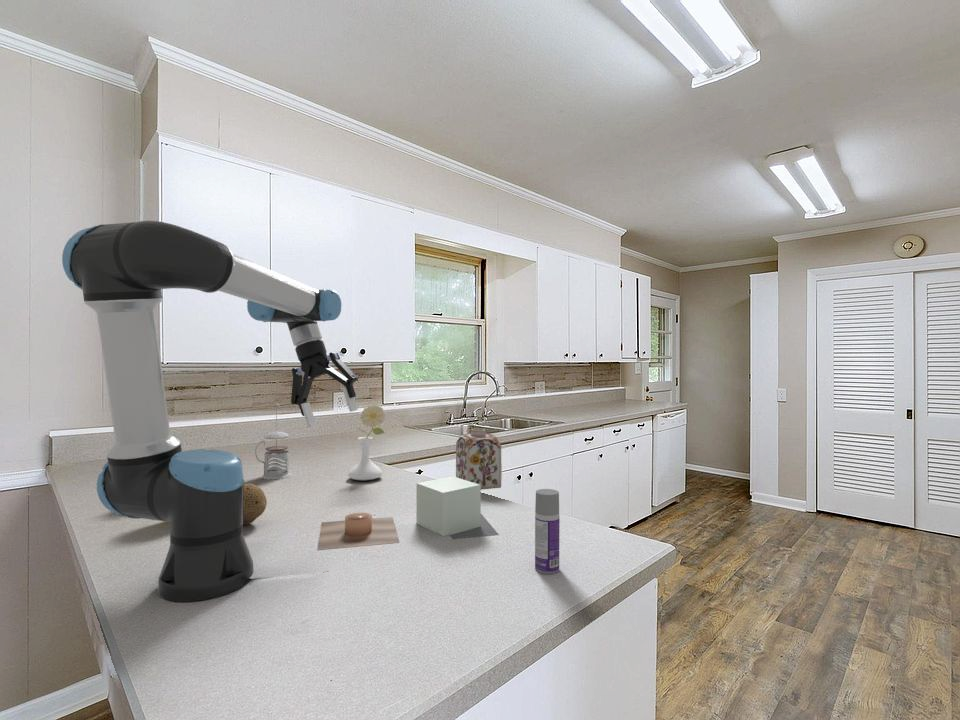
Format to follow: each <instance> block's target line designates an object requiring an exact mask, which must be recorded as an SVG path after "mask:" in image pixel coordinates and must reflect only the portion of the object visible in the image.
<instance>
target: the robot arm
mask: <svg viewBox="0 0 960 720" xmlns="http://www.w3.org/2000/svg"><path fill="white" fill-rule="evenodd" d="M61 254H62V255H61V256H62V257H61V261H62V262H61V263H62V269H63V271H64V273H65V275H66V276H67V278H68V280H69V281H72V282H73V283H74V285H75V286H76V287H77V288H78V289H80V290H81V291H82V295H83V302H84V304H85V305H86V306H87V307H89V308H90V309H93V311H95V313H96V316H97V325H98V332H99V336H100V344H101V351H102V357H103V358H102V359H103V364H104V372H105V379H106V385H107V387H106V388H107V394H108V400H109V407H110V413H111V414H110V415H111V420H112V427H113V435H114V442H115V443H114V445H113V446H112V447H111V448H110V449H109V450H108V451H107V453H106V457H107V462H106V463H105V464H104V465H103V467H102V472H100V473H99V474H98V477H97V480H96V492H97V493H96V494H97V496H98V499H99V501H100V502H101V504H102V505H103V507H105V509H107V510H109V512H111V513H113V514H116V515H120V516H122V517H126V518H129V519H144V520H150V521H151V520H152V521H159V522H169V536H170V537H169V538H170V539H169V541H170V542H169V547H168V551H167V554H166V557H165V559H164V562H163V565H162V568H161V571H160V574H159V577H158V582H157V585H158V586H157V587H158V595H159V596H160V597H162V598H163V599H165V600H169V601H174V602H195V601H203V600H208V599H213V598H217V597H220V596H224V595H227V594H229V593H231V592H235V591H236V590H238V589H240V588H242V587H243V586H245V585H246V584H248V583H249V582H251V580H252V578H251V577H252V575H253V573H254V561H253V558H252V556H251V553H250V551H249V548H248V547H249V546H248V545H247V543H246V540H245V539H246V538H245V537H244V530H243V529H244V525H243V487H244V482H245V479H244V478H245V476H244V473H243V462H242V459H241V458H240V457H239V456H238V455H237V454H235V453H232V452H229V451H226V450H222V449H221V450H220V449H202V448H199V449H189V450H184V451H183V450H182V444H181V443H182V442H181V440H180V439H179V438H177V437H175V436H173V434H171V430H170V429H171V428H170V421H169V415H168V408H167V406H168V405H167V399H166V391H165V382H164V376H163V369H162V360H161V352H160V345H159V344H160V343H159V338H158V337H159V335H158V328H157V321H156V314H155V313H156V311H155V310H156V308H157V307H158V306H159V304H161V303H162V302H163V299H164V298H163V292H162V290H164V289H166V290H167V289H187V290H188V289H189V290H196V291H201V292H203V293H207V294H208V293H210V294H213V293H216V292H222V293H224V294H228V295H231V296H234V297H237V298H241V299H244V300H247V302H246V304H247V305H246V309H247V313H248V315H249V316H250V318H252V319H253V320H255V321H258V322H263V323H284V324H286V325H287V327H288V330H289V334H290V338H291V340H292V344H293V346H294V347H295V348H294V349H295V352H296V356H297V360H298V361H299V362H300V367H292V368H291V373H292V386H291V388H292V389H291V396H290V397H291V398H290V404H291V405H297V406H298V407H299V410H300V412H301V416H302V417H304V419H305V422H306V425H307V428H311V427H316V426H317V423H316V419H315V416H314V413H313V410H312V407H311V403H310V402H308V398H309V395H310V391H311V388H312V385H313V382H314V381H315V379H317V378H319V377H322V376H324V375H328V376H330V377H331V378H333V379H334V380H335V381H337V382H339V383H340V384H341V385H342V386H343V387H342V392H343V395H344V398H345V400H346V403H347V406H348V407H347V408H348V410H349V412H355V411H357V410H359V409H358V406H357V403H356V400H355V397H356V391H355V388H354V383H356V382H357V381H358V379H359V378H358V377H357V375H356V374H355V373H354V372H353V371H352V370H351V368H350V367H349V366H348V365H347V364H346V363H344V361H343V360H342V358H341V357H340V355H339V353H338V352H333V351H331V352H329V353H328V354H327V349H326V345H325V342H324V341H323V340H322V338H323V337H322V334H321V331H320V327H319V325H318V322H326V321H328V322H329V321H334V320H335V321H336V319H338V318H339V317H340V315H341V312H342V299H341V297H340V295H339V294H338V292H337V291H336V290H333V289H327V288H322V289H318V288H317V289H316V288H315V287H312V286H309V285H306V284H304V283H302V282H300V281H297V280H295V279H292V278H290V277H288V276H285V275H284V274H281V273H278V272H276V271H274V270H272V269H270V268H266V267H264V266H263V265H260V264H257V263H255V262H253V261H250V260H248V259H245V258H243V257H241V256H239V255H236V254H233V252H232V250H231V248H230V247H228V246H227V245H226V244H224V243H222V242H220V241H217V240H216V239H213V238H211V237H210V236H209V237H208V236H206V235H204V234H201V233H199V232H196V231H194V230H191V229H188V228H185V227H183V226H179V225H176V224H172V223H169V222H164V221H158V220H141V221H135V222H133V221H132V222H121V223H107V224H98V225H94V226H90V227H87V228H84V229H81V230H78V231H77V232H76V233H74V234H73V235H72V236H71V237H70V238H69V239H68V240H67V242H66V244H65V245H64V247H63V250H62V253H61ZM330 362H332V364H333V365H334V366H335V367H336V368H337V369H338V371H337V370H336V369H335V368H333V367H332V366H330ZM339 371H340V372H341V373H340V372H339Z"/></svg>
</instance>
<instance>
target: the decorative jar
mask: <svg viewBox="0 0 960 720" xmlns="http://www.w3.org/2000/svg"><path fill="white" fill-rule="evenodd" d="M455 445H456V447H455V477H457V478H460V479H463V480H466V481H470V482H473V483H476V484H479V485H481V490H491V489H501V488H502V477H503V476H502V468H503V467H502V445H501V442H500V441H499V439H498V437H497V436H496V435H494V434H491V433H486V429H485V428H478V427H477V428H471V429H470V433H464V434H461V435H459V438H458V439H457V441H456V444H455Z"/></svg>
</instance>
